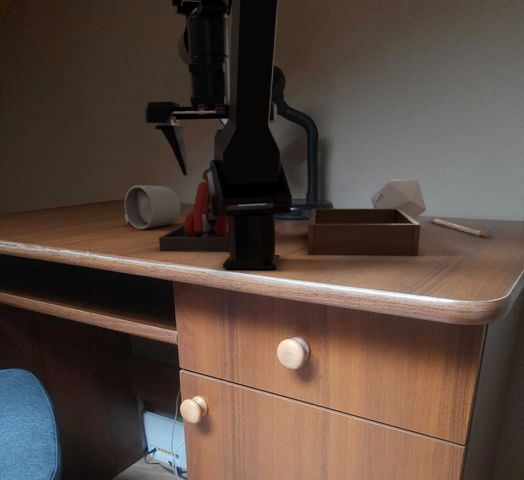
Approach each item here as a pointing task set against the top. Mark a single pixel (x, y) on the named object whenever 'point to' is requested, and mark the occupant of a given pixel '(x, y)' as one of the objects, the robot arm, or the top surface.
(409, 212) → the die
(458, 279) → the top surface
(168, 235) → the desk tray
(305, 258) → the top surface
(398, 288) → the top surface
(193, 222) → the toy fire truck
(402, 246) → the toy crate
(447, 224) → the pencil
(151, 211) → the ceramic mug
